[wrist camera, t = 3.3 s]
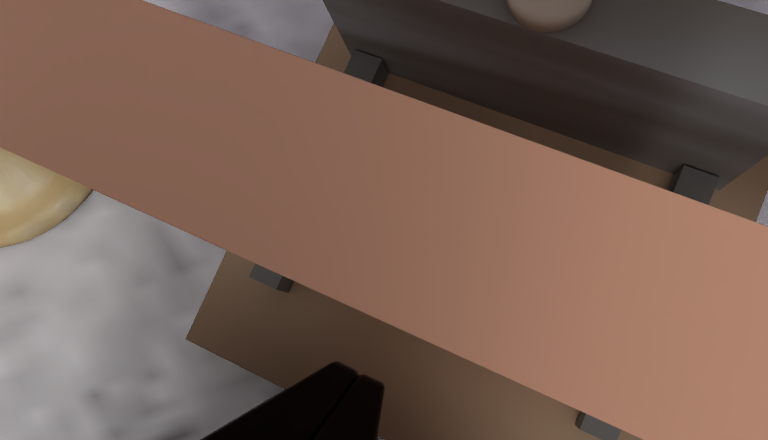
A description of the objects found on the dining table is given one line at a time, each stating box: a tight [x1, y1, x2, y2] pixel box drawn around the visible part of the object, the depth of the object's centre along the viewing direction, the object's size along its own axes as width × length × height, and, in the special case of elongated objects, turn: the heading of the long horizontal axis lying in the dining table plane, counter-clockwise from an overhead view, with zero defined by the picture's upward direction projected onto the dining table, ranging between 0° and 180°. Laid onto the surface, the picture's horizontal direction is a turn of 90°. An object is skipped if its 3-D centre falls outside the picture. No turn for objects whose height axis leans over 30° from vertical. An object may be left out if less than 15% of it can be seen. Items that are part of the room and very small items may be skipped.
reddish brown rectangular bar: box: [0, 0, 768, 440], centre depth 10 cm, size 2×7×12 cm, turn 66°
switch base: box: [186, 0, 768, 440], centre depth 15 cm, size 10×12×7 cm
